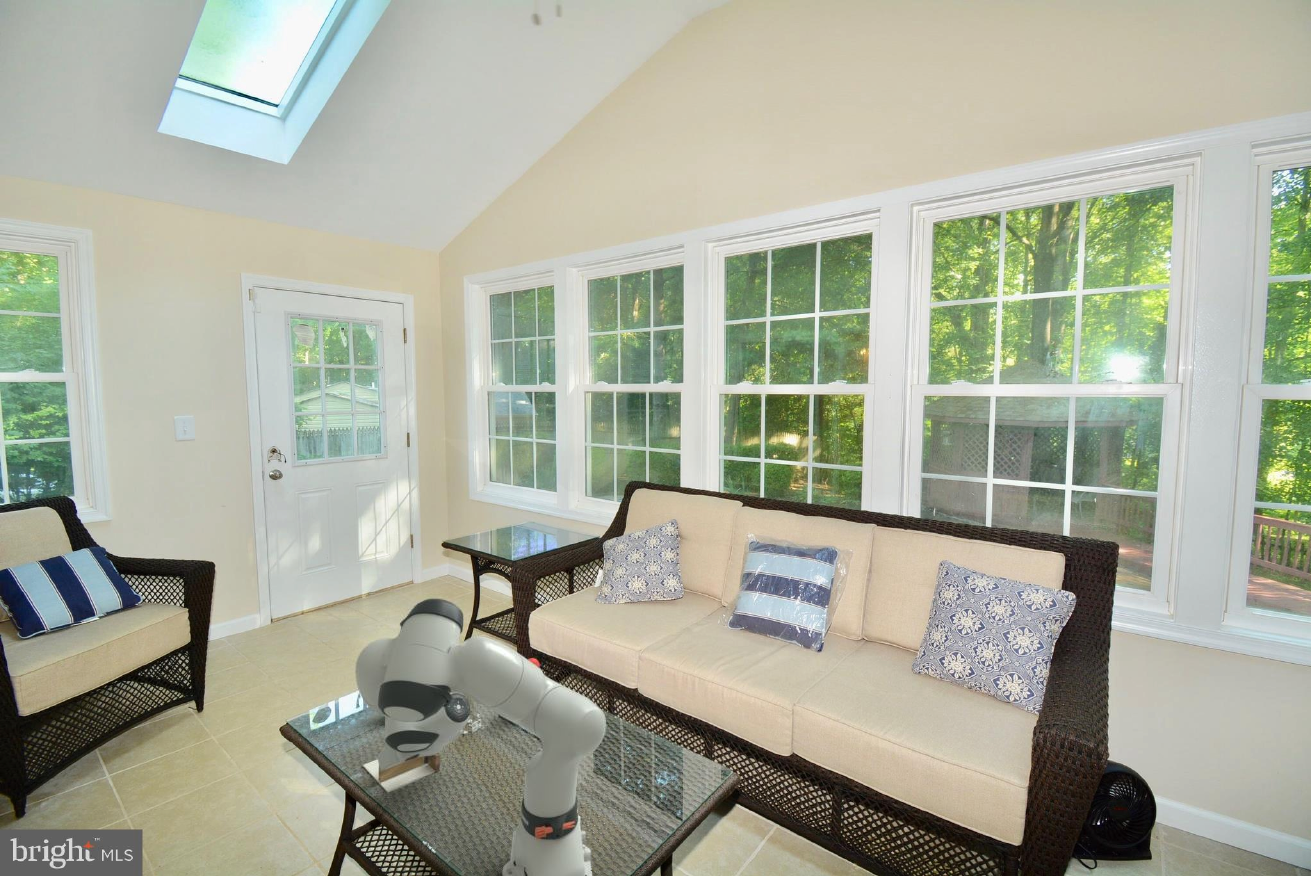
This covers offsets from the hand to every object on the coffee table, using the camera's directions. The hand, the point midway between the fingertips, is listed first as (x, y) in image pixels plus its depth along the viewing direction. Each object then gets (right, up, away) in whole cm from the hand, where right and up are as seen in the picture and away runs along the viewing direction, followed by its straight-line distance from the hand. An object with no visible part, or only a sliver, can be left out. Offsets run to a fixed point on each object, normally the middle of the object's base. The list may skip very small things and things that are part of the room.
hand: (410, 756), depth 152 cm
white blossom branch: (+3, -6, +22) cm, 23 cm away
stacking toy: (+23, -7, +36) cm, 43 cm away
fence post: (+3, -7, +7) cm, 10 cm away
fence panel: (-4, -6, +3) cm, 7 cm away
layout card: (-5, -6, +6) cm, 10 cm away
